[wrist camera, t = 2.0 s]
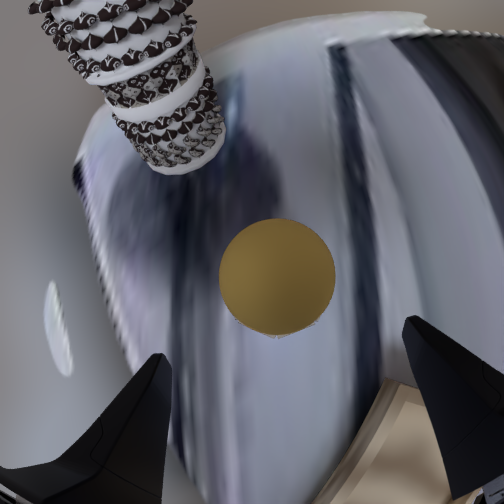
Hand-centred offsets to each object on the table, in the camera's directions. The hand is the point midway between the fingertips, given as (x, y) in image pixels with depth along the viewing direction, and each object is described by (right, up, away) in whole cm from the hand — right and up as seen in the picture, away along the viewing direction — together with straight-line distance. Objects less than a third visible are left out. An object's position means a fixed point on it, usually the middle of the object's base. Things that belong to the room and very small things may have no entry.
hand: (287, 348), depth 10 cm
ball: (0, +2, +3) cm, 4 cm away
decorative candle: (-8, +14, +16) cm, 23 cm away
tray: (+12, -15, +6) cm, 21 cm away
